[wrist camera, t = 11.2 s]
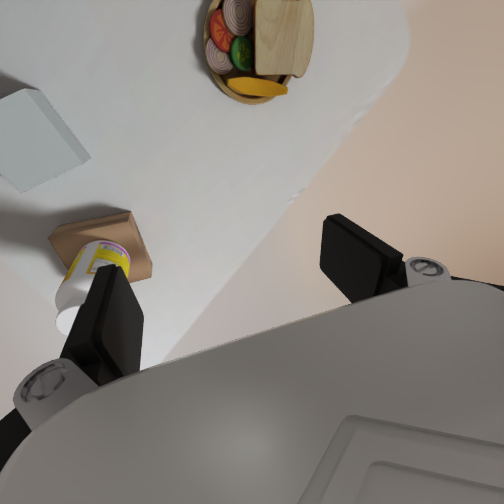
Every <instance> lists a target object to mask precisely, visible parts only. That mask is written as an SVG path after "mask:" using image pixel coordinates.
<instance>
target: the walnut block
mask: <svg viewBox="0 0 504 504" xmlns="http://www.w3.org/2000/svg"><path fill="white" fill-rule="evenodd" d="M48 239H49V241H50V243H51V244H52V246H53V247H54V249H55V250H56V252H57V253H58V255H59V256H60V258H61V260H62V261H63V263H64V264H65V266H66V267H67V269H68V270H69V269H70V267H71V266H72V264H73V262H74V260H75V258H76V256H77V255H78V253H79V251H80V250H81V249H82V248H83V247H84V246H85V245H86V244H88V243H90V242H93V241H98V240H106V241H111V242H114V243H117V244H119V245H120V246H122V247H123V248H124V249H125V250H126V251H127V253H128V254H129V257H130V268H129V273H128V278H127V279H128V282H129V283H132V282H136V281H140V280H144V279H147V278H151V276H152V262H151V260H150V257H149V255H148V252H147V250H146V247H145V245H144V242H143V240H142V237H141V235H140V232H139V230H138V227H137V225H136V223H135V220H134V218H133V215H132V213H131V211H130V212H125V213H120V214H115V215H110V216H105V217H100V218H95V219H91V220H86V221H81V222H76V223H71V224H66V225H61V226H58V227H57V229H56V230H55V231H54V232H53V233H52V234H51V235H50V237H49V238H48Z"/></svg>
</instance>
